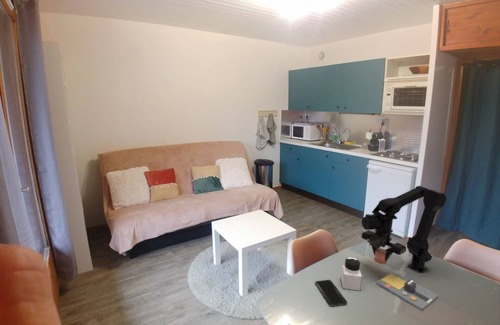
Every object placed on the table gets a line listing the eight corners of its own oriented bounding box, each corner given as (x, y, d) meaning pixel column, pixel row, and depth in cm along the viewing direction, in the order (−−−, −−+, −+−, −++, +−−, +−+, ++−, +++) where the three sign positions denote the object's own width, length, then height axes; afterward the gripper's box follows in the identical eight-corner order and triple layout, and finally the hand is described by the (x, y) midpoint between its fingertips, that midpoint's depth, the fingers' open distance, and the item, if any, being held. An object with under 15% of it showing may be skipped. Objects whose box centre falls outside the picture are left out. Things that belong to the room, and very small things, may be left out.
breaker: (408, 286, 116) (409, 278, 115) (415, 290, 114) (416, 282, 113) (403, 289, 114) (404, 281, 113) (411, 293, 112) (412, 285, 111)
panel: (392, 273, 127) (393, 270, 126) (438, 297, 111) (438, 293, 111) (375, 283, 119) (376, 280, 119) (421, 311, 104) (422, 307, 103)
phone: (330, 305, 105) (314, 281, 119) (330, 308, 105) (314, 283, 119) (348, 303, 106) (330, 279, 121) (348, 305, 106) (330, 281, 121)
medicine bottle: (360, 291, 114) (363, 265, 112) (342, 288, 116) (345, 263, 113) (357, 280, 121) (359, 256, 119) (340, 278, 123) (343, 254, 120)
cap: (378, 256, 130) (379, 247, 128) (388, 261, 125) (390, 252, 124) (371, 259, 127) (372, 250, 125) (382, 265, 122) (383, 255, 121)
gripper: (355, 224, 126) (352, 254, 129) (395, 240, 110) (390, 274, 114) (369, 218, 132) (366, 247, 135) (409, 234, 116) (404, 266, 120)
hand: (380, 258), depth 126 cm, fingers closed on cap, 5 cm apart
